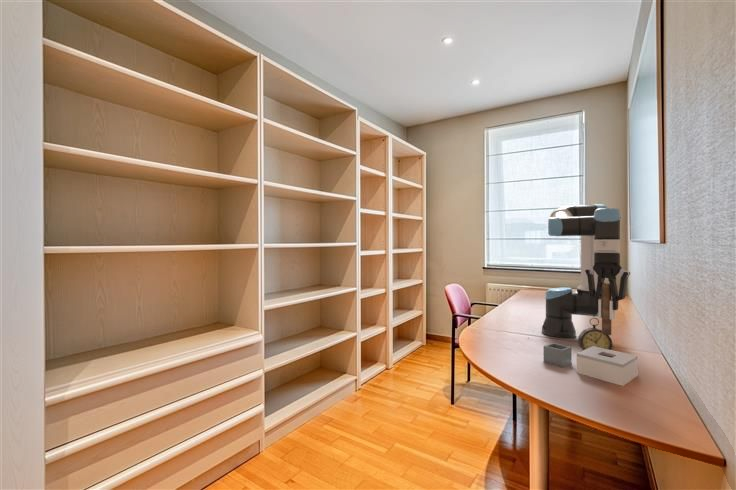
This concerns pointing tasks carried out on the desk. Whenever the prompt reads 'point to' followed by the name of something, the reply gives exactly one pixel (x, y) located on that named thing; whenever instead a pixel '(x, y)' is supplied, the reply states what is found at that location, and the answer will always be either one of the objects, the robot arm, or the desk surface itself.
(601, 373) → the white box
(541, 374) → the desk surface
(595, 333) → the alarm clock
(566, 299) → the robot arm
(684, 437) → the desk surface
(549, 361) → the pen cup
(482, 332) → the desk surface
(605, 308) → the brown wooden rod
